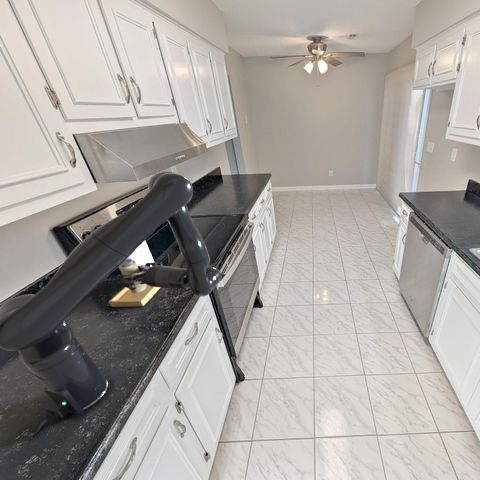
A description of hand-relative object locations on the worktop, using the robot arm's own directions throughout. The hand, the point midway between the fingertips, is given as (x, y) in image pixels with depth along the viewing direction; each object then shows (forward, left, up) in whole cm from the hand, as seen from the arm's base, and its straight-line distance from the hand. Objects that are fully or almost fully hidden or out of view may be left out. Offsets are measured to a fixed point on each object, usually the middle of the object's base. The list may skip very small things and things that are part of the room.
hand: (125, 272), depth 91 cm
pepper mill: (0, -3, -7) cm, 7 cm away
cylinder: (+26, +28, -18) cm, 42 cm away
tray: (+10, +11, -18) cm, 23 cm away
